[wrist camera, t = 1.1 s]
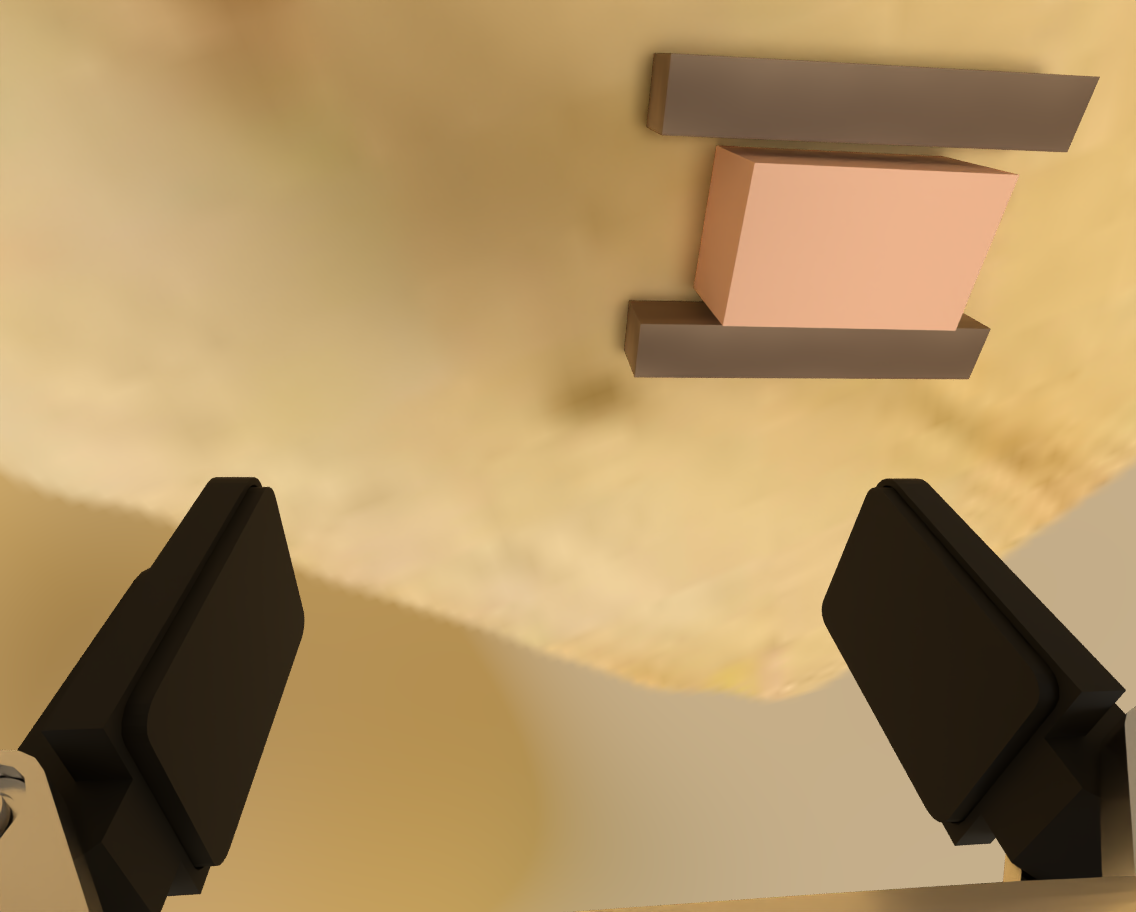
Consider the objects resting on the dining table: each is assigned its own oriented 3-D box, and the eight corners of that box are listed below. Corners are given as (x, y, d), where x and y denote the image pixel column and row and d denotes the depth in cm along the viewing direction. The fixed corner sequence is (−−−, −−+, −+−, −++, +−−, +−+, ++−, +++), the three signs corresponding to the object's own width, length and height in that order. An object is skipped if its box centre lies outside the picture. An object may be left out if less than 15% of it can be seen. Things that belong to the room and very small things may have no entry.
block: (715, 144, 26) (754, 162, 22) (940, 155, 27) (1019, 174, 23) (692, 286, 29) (722, 326, 25) (893, 291, 30) (955, 330, 26)
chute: (654, 53, 24) (671, 53, 21) (1041, 74, 25) (1099, 76, 23) (624, 350, 30) (634, 377, 28) (932, 353, 32) (968, 379, 29)
